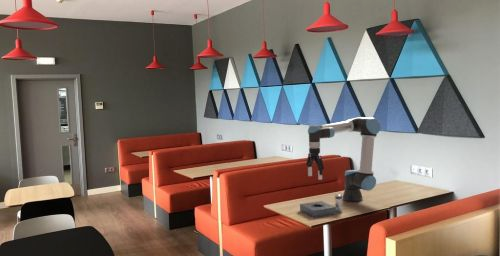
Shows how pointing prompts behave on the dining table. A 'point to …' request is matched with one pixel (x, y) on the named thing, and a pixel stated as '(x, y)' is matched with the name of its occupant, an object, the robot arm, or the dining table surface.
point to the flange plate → (317, 209)
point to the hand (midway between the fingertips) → (315, 177)
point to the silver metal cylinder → (338, 203)
